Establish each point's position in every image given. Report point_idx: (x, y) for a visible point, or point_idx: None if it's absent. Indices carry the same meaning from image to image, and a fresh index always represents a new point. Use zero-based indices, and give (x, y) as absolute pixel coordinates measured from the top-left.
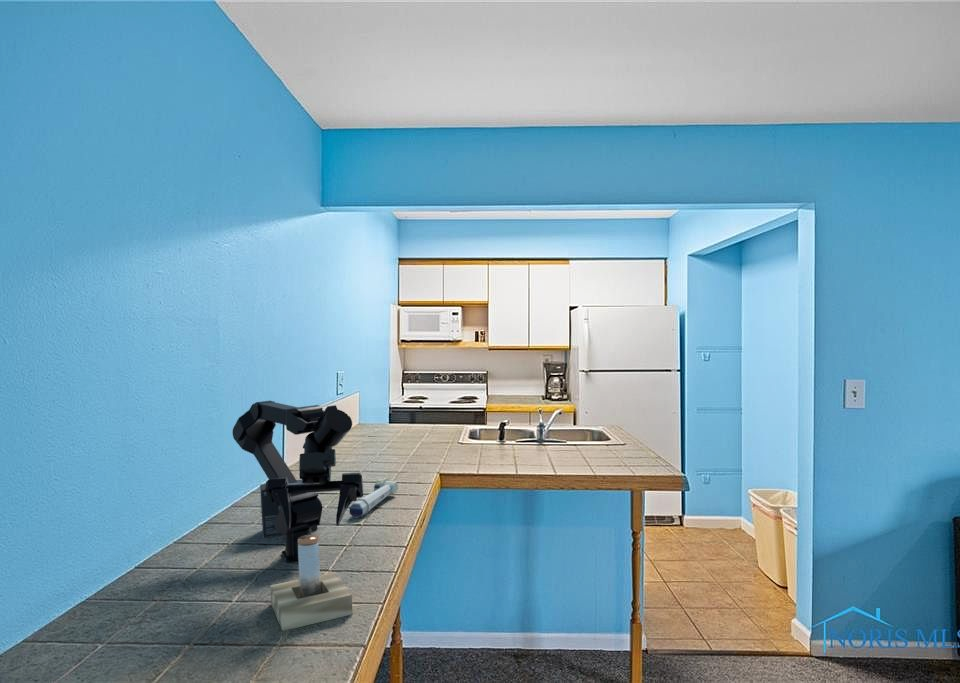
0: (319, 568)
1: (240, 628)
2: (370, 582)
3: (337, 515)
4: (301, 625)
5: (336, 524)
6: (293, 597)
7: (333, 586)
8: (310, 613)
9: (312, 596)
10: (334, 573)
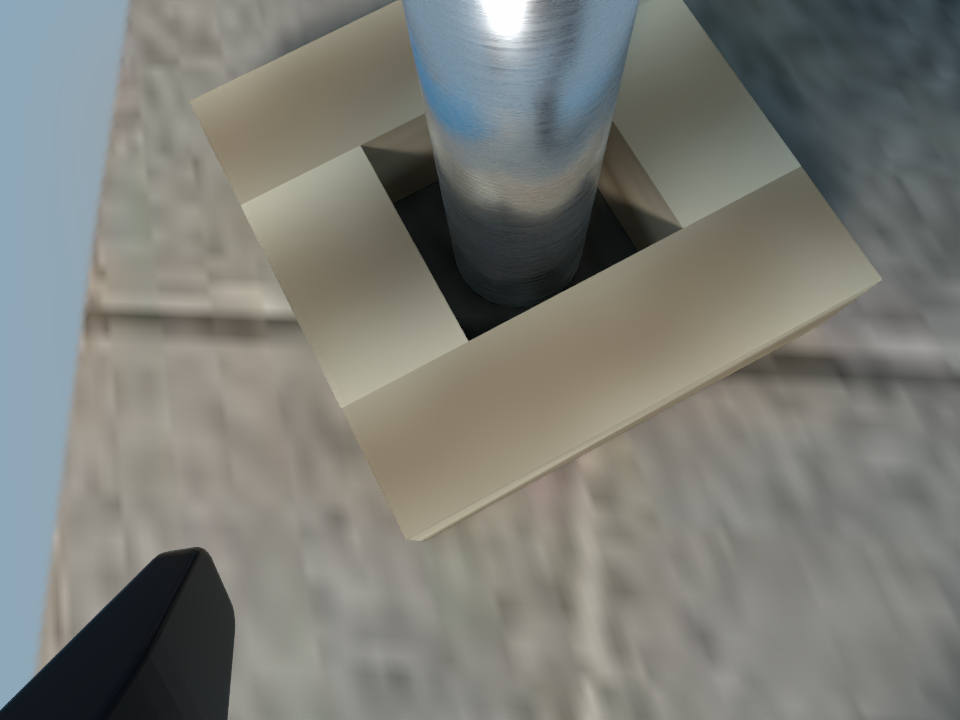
0: (425, 114)
1: (858, 26)
2: None
3: (111, 652)
4: None
5: (211, 560)
6: None
7: (351, 241)
8: None
9: None
10: (401, 504)
